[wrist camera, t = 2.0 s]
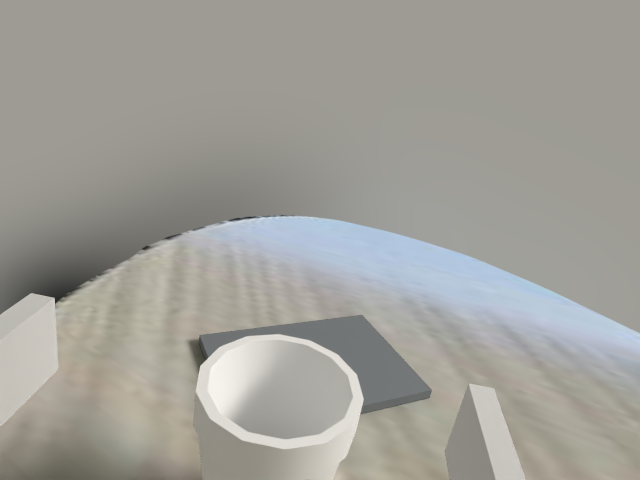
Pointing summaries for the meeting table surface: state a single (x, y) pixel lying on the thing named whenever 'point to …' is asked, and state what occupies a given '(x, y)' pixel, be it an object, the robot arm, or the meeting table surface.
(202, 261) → the meeting table surface
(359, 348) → the rubber mat
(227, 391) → the foam cup
